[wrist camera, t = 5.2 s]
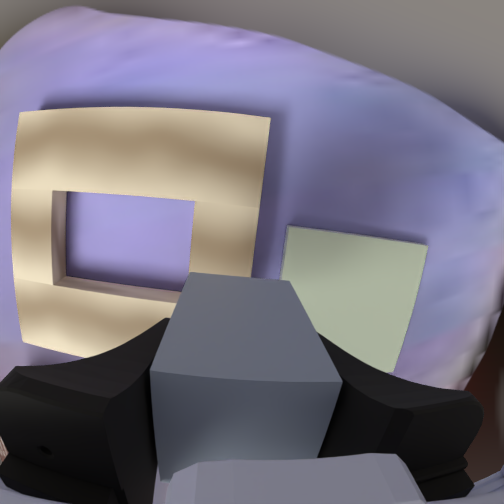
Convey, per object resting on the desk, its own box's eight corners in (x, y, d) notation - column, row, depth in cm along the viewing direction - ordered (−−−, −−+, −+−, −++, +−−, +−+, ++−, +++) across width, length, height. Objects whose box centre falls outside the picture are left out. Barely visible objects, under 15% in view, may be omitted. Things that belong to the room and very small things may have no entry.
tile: (389, 366, 23) (392, 372, 22) (265, 365, 22) (266, 371, 21) (422, 243, 21) (428, 245, 20) (286, 225, 20) (289, 227, 19)
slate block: (275, 364, 14) (304, 487, 7) (186, 357, 14) (160, 481, 7) (289, 280, 13) (342, 381, 6) (189, 271, 13) (149, 370, 6)
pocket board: (237, 363, 22) (237, 379, 20) (35, 330, 21) (23, 341, 19) (267, 123, 18) (270, 117, 16) (35, 116, 17) (19, 112, 15)
